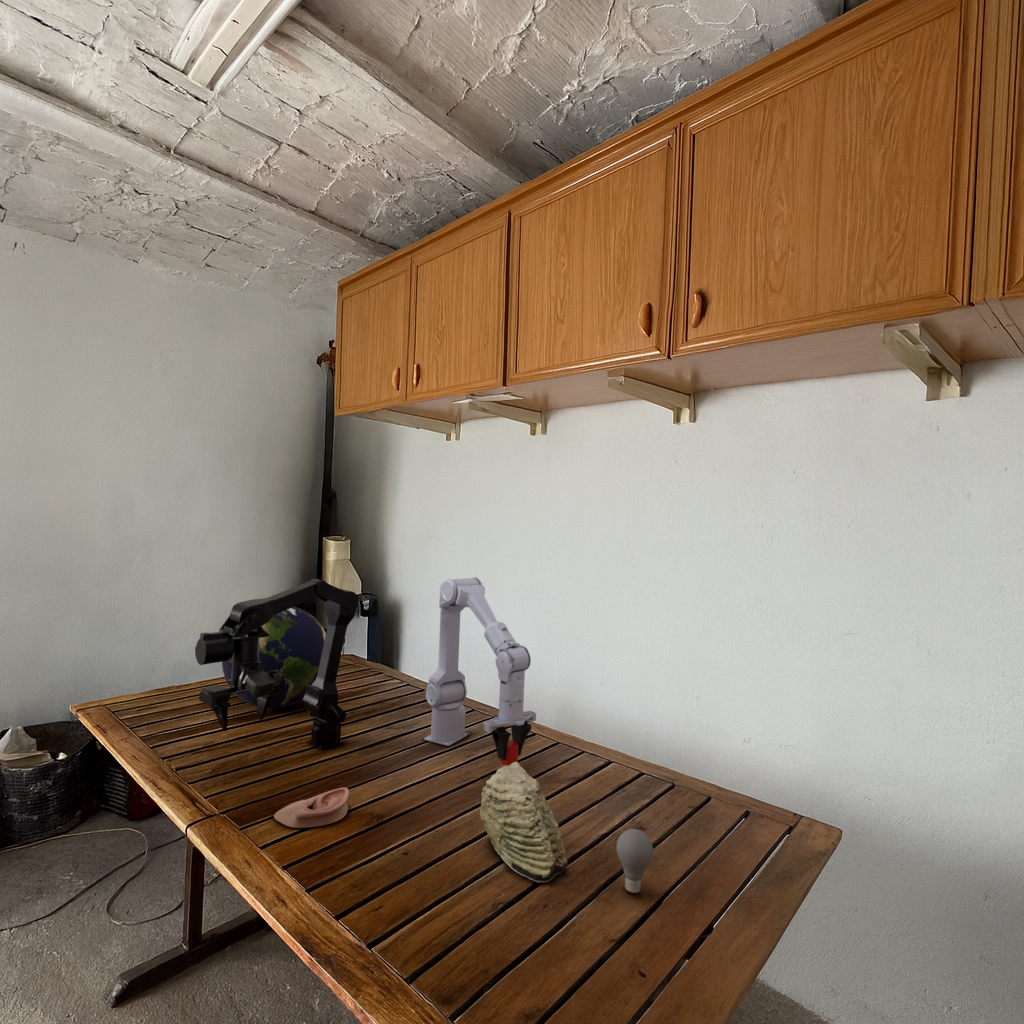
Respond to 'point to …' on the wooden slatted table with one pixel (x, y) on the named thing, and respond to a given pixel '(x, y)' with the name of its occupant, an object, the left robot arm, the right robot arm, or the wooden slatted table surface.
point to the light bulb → (634, 857)
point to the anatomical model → (315, 810)
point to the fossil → (522, 824)
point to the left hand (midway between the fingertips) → (243, 725)
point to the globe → (288, 655)
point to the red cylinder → (511, 753)
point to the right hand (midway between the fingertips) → (509, 756)
